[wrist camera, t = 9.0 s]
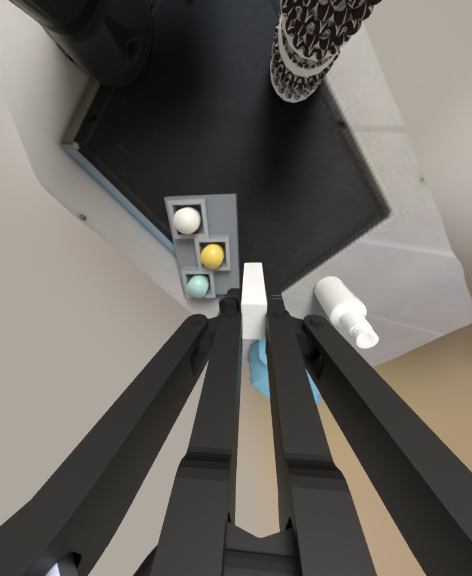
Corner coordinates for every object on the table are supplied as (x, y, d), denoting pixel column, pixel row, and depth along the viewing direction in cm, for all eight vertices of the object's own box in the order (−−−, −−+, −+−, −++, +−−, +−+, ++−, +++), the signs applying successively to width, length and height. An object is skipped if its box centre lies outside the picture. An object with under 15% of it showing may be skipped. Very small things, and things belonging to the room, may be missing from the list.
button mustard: (203, 242, 39) (198, 247, 36) (224, 241, 39) (221, 247, 35) (206, 261, 41) (201, 268, 38) (225, 261, 41) (223, 268, 37)
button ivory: (178, 206, 36) (171, 209, 32) (201, 206, 36) (195, 208, 32) (182, 230, 38) (176, 234, 35) (203, 229, 38) (199, 234, 34)
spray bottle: (325, 304, 48) (360, 361, 33) (307, 289, 47) (336, 341, 31) (348, 287, 46) (399, 340, 30) (330, 270, 44) (375, 318, 28)
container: (286, 308, 50) (299, 353, 37) (331, 359, 58) (354, 411, 45) (238, 336, 56) (235, 383, 43) (285, 378, 65) (294, 429, 51)
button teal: (190, 272, 43) (185, 280, 39) (209, 272, 42) (205, 280, 39) (193, 289, 45) (188, 297, 41) (211, 289, 45) (207, 297, 41)
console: (169, 196, 38) (158, 197, 34) (236, 193, 37) (234, 194, 32) (187, 288, 49) (180, 299, 44) (240, 288, 48) (238, 299, 43)
